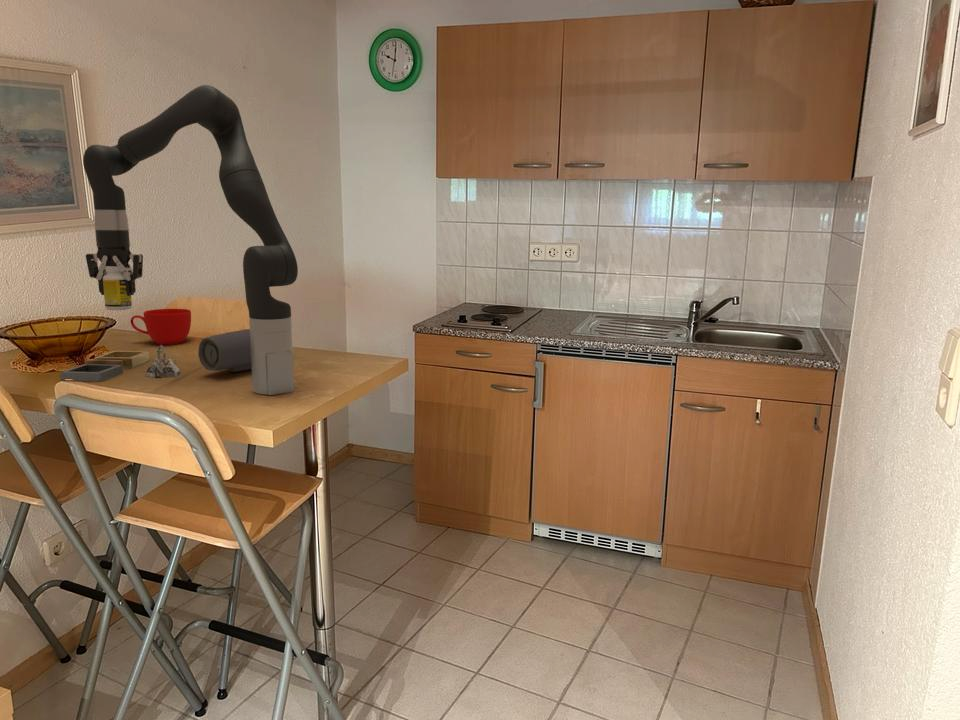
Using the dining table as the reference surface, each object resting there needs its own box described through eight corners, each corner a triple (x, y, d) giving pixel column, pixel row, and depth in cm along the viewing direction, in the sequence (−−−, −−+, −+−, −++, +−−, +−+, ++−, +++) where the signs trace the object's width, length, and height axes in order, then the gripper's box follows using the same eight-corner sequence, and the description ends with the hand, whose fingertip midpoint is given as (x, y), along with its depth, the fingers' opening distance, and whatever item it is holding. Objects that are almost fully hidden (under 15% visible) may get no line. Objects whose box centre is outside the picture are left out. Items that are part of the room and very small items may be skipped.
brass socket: (149, 360, 192) (148, 351, 191) (132, 368, 183) (132, 358, 182) (113, 360, 192) (113, 350, 191) (95, 367, 183) (94, 357, 182)
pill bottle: (124, 310, 181) (121, 266, 179) (100, 310, 181) (96, 266, 179) (136, 307, 187) (133, 265, 185) (113, 307, 188) (109, 264, 185)
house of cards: (128, 382, 169) (126, 350, 167) (145, 374, 178) (142, 343, 176) (167, 383, 169) (164, 350, 168) (182, 374, 178) (179, 344, 176)
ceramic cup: (138, 341, 220) (135, 308, 218) (196, 340, 223) (194, 308, 221) (126, 349, 207) (123, 314, 205) (188, 348, 210) (185, 314, 208)
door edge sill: (123, 369, 181) (122, 360, 180) (121, 370, 179) (120, 361, 179) (87, 369, 180) (86, 359, 180) (85, 370, 179) (84, 360, 179)
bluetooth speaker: (222, 378, 173) (220, 337, 171) (197, 373, 178) (195, 333, 176) (293, 363, 192) (292, 326, 190) (269, 358, 197) (267, 322, 195)
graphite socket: (122, 373, 177) (122, 365, 177) (100, 381, 168) (99, 373, 167) (85, 371, 178) (84, 363, 177) (61, 380, 168) (60, 372, 168)
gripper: (147, 228, 184) (152, 294, 187) (93, 227, 185) (99, 293, 188) (131, 229, 176) (137, 297, 180) (75, 228, 177) (81, 296, 180)
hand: (117, 294), depth 184 cm, fingers closed on pill bottle, 6 cm apart
